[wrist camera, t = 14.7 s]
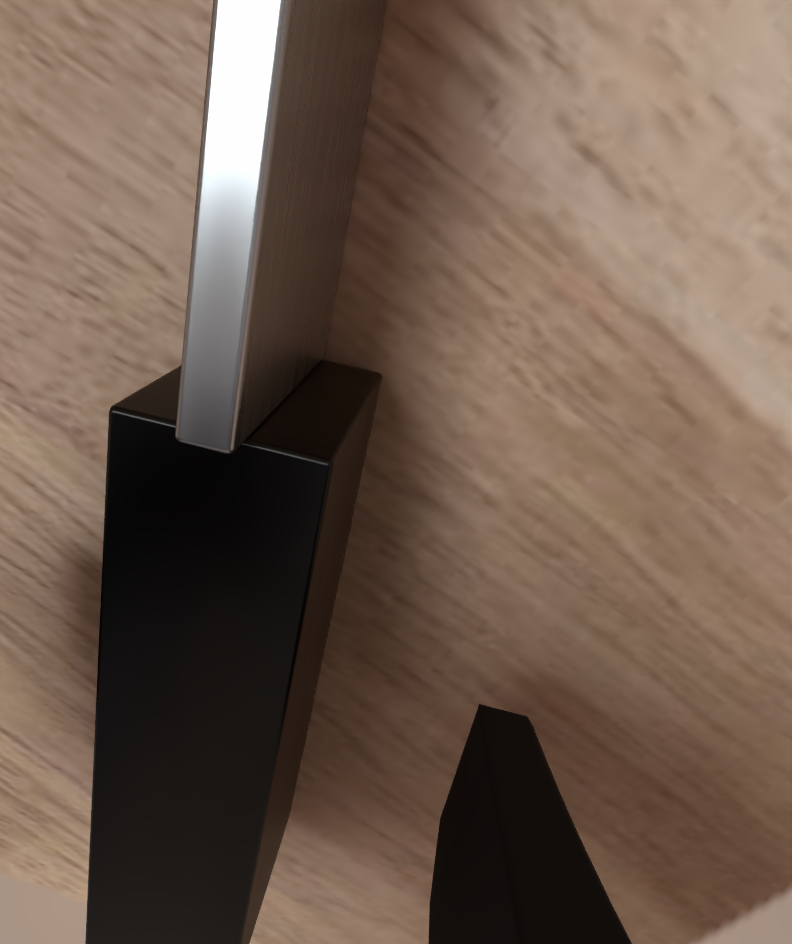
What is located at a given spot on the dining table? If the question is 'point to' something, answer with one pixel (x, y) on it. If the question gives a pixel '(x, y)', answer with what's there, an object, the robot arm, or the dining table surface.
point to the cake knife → (233, 493)
